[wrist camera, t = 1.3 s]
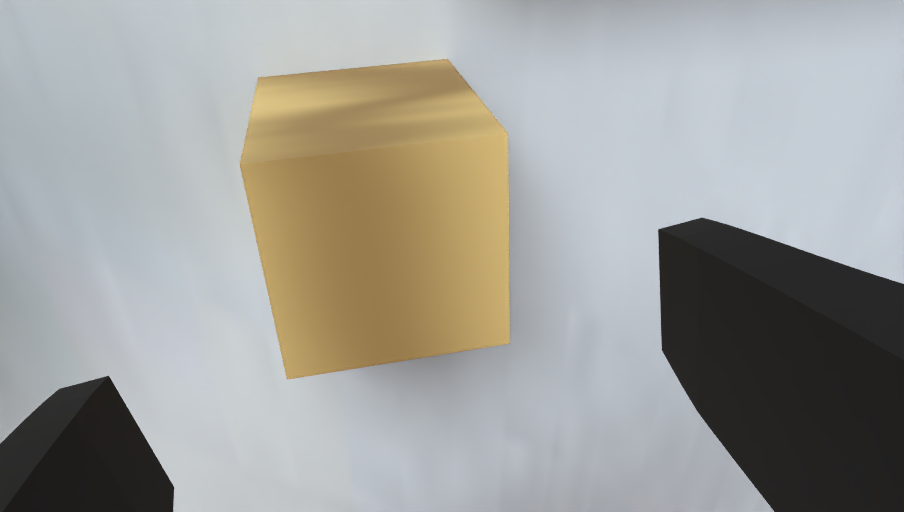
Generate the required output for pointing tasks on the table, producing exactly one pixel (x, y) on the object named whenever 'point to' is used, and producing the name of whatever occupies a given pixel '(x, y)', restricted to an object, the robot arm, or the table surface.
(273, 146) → the mustard block
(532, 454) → the table surface
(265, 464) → the table surface
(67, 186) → the table surface
